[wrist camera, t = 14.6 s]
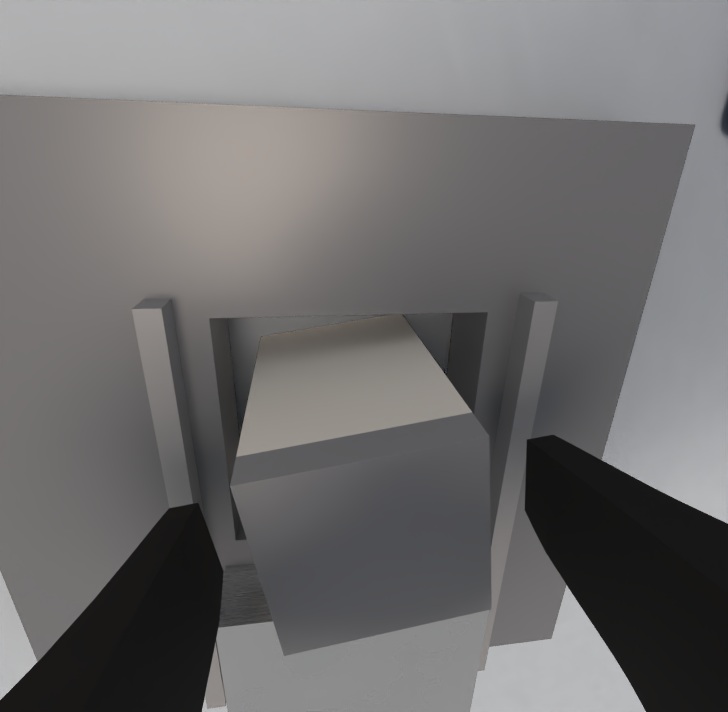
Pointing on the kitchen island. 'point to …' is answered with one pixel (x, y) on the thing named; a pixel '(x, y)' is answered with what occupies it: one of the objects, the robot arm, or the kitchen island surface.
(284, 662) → the shutter
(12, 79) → the kitchen island surface
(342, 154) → the socket plate
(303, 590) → the plug
